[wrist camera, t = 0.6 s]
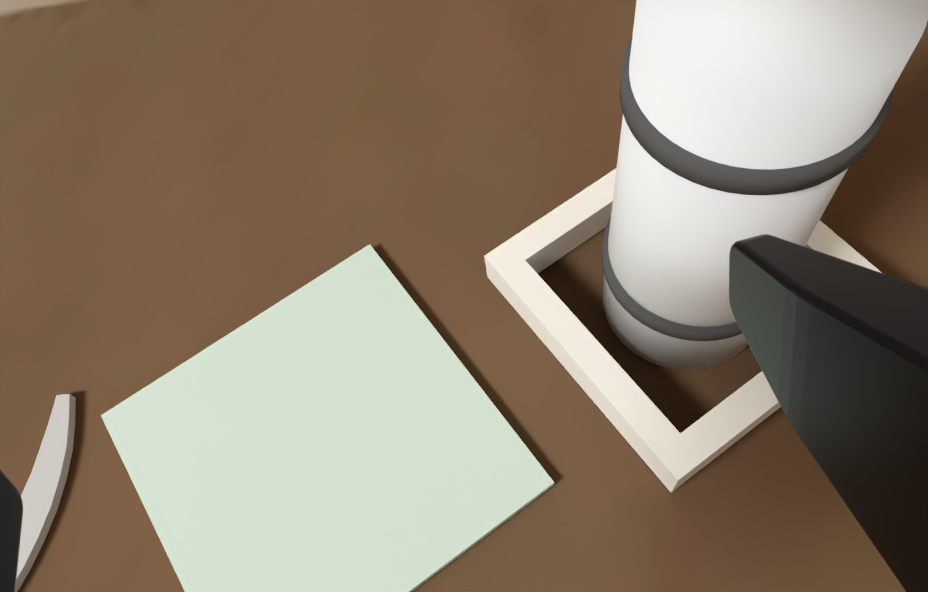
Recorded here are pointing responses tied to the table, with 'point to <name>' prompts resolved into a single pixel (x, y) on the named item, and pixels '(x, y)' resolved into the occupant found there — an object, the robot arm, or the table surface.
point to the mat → (323, 447)
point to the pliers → (46, 483)
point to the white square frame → (596, 368)
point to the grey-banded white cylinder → (735, 150)
